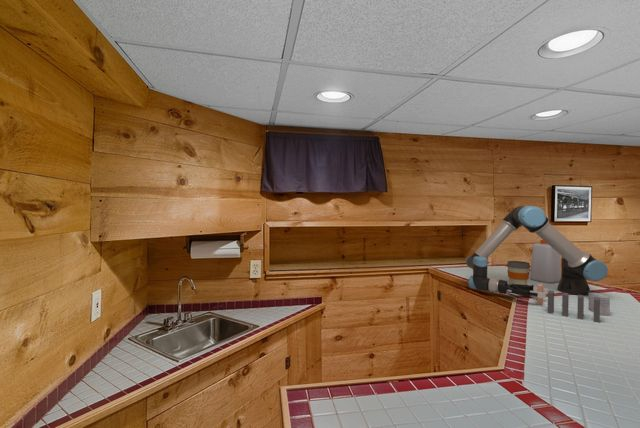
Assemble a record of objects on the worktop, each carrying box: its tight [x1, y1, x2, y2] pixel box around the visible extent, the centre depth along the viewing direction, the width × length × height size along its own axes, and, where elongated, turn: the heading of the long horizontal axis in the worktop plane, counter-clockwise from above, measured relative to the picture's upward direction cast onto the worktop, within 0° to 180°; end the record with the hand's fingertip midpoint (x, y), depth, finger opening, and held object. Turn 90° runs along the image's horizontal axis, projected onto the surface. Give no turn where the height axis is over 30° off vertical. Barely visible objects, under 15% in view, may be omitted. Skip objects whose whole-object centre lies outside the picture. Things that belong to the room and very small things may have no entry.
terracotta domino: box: [536, 283, 544, 306], centre depth 160 cm, size 2×5×10 cm, turn 138°
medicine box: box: [588, 292, 611, 316], centre depth 146 cm, size 8×4×9 cm, turn 168°
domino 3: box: [577, 295, 585, 320], centre depth 140 cm, size 2×5×10 cm, turn 138°
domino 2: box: [561, 292, 570, 318], centre depth 144 cm, size 2×5×10 cm, turn 137°
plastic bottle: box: [529, 239, 561, 284], centre depth 209 cm, size 15×15×28 cm
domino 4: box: [593, 297, 601, 324], centre depth 136 cm, size 2×5×10 cm, turn 138°
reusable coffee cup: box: [506, 260, 531, 285], centre depth 197 cm, size 12×13×15 cm
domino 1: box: [547, 289, 555, 315], centre depth 147 cm, size 2×5×10 cm, turn 137°
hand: (547, 293), depth 158 cm, fingers open, 10 cm apart
